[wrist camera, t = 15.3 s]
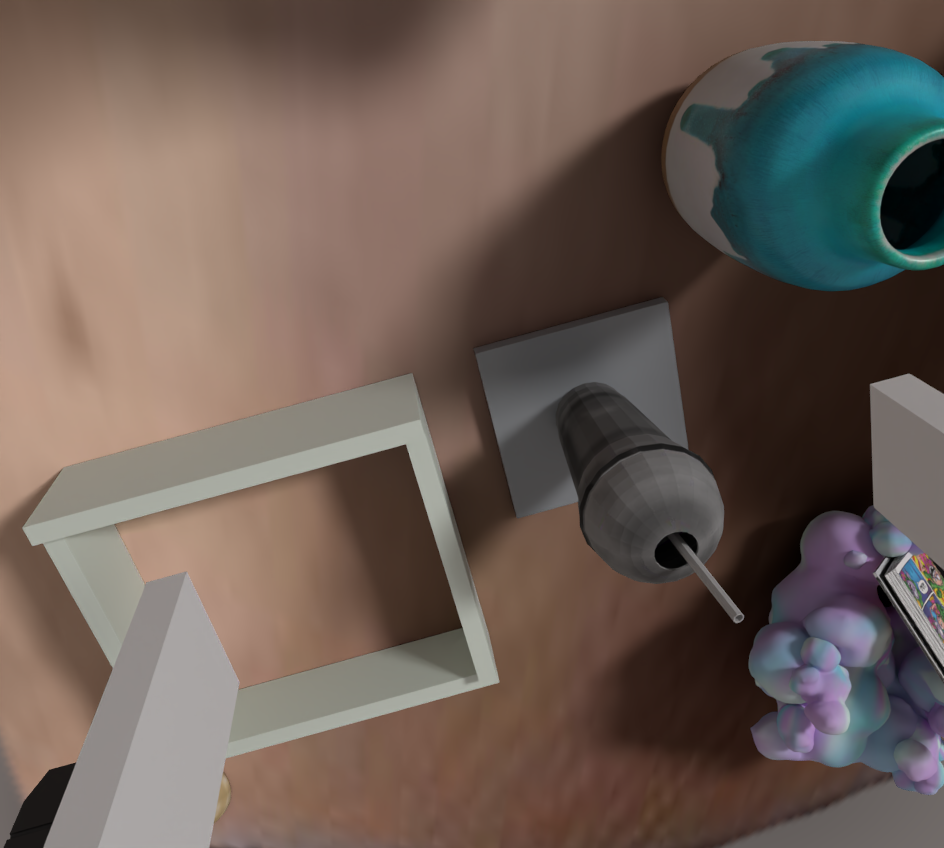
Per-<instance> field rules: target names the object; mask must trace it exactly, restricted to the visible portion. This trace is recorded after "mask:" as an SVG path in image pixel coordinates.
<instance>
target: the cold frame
mask: <svg viewBox="0 0 944 848" xmlns="http://www.w3.org/2000/svg"><path fill="white" fill-rule="evenodd" d="M405 444H406V446H407V449H408V453H409V456H410V459H411V462H412V466H413V469H414V472H415V475H416V479H417V482H418V485H419V488H420V491H421V495H422V498H423V501H424V504H425V508H426V511H427V514H428V517H429V521H430V524H431V527H432V530H433V534H434V537H435V540H436V543H437V546H438V550H439V553H440V556H441V559H442V563H443V566H444V569H445V572H446V576H447V579H448V582H449V585H450V588H451V592H452V595H453V598H454V601H455V605H456V608H457V611H458V614H459V618H460V621H461V624H462V627H463V628H460V629H457V630H453V631H449V632H446V633H442V634H439V635H435V636H431V637H428V638H424V639H420V640H417V641H413V642H410V643H406V644H402V645H399V646H395V647H391V648H388V649H384V650H381V651H377V652H373V653H370V654H366V655H362V656H359V657H355V658H352V659H348V660H344V661H341V662H337V663H333V664H330V665H326V666H323V667H319V668H315V669H312V670H308V671H305V672H301V673H297V674H294V675H290V676H286V677H283V678H279V679H276V680H272V681H268V682H265V683H261V684H257V685H254V686H250V687H247V688H243V689H239V690H238V693H237V698H236V704H235V709H234V715H233V720H232V726H231V731H230V737H229V742H228V748H227V753H226V758H229V757H232V756H236V755H240V754H243V753H247V752H250V751H254V750H258V749H261V748H265V747H268V746H272V745H276V744H279V743H283V742H286V741H290V740H294V739H297V738H301V737H305V736H308V735H312V734H315V733H319V732H323V731H326V730H330V729H333V728H337V727H341V726H344V725H348V724H351V723H355V722H359V721H362V720H366V719H369V718H373V717H377V716H380V715H384V714H387V713H391V712H395V711H398V710H402V709H406V708H409V707H413V706H416V705H420V704H424V703H427V702H431V701H434V700H438V699H442V698H445V697H449V696H452V695H456V694H460V693H463V692H467V691H470V690H474V689H478V688H481V687H485V686H489V685H492V684H496V683H499V678H498V673H497V669H496V664H495V660H494V655H493V651H492V646H491V642H490V637H489V633H488V630H487V626H486V623H485V620H484V616H483V613H482V609H481V606H480V602H479V599H478V596H477V592H476V589H475V585H474V582H473V579H472V575H471V572H470V568H469V565H468V561H467V558H466V555H465V551H464V548H463V544H462V541H461V538H460V534H459V531H458V527H457V524H456V520H455V517H454V514H453V510H452V507H451V503H450V500H449V497H448V493H447V490H446V486H445V483H444V479H443V476H442V473H441V469H440V466H439V462H438V459H437V456H436V452H435V449H434V445H433V442H432V439H431V435H430V432H429V428H428V425H427V421H426V418H425V415H424V411H423V408H422V404H421V401H420V398H419V394H418V391H417V387H416V384H415V380H414V377H413V374H412V373H410V374H406V375H403V376H399V377H395V378H392V379H388V380H384V381H381V382H377V383H373V384H370V385H366V386H362V387H359V388H355V389H351V390H347V391H344V392H340V393H336V394H333V395H329V396H325V397H322V398H318V399H314V400H311V401H307V402H303V403H300V404H296V405H292V406H289V407H285V408H281V409H278V410H274V411H270V412H267V413H263V414H259V415H256V416H252V417H248V418H244V419H241V420H237V421H233V422H230V423H226V424H222V425H219V426H215V427H211V428H208V429H204V430H200V431H197V432H193V433H189V434H186V435H182V436H178V437H175V438H171V439H167V440H164V441H160V442H156V443H153V444H149V445H145V446H141V447H138V448H134V449H130V450H127V451H123V452H119V453H116V454H112V455H108V456H105V457H101V458H97V459H94V460H90V461H86V462H83V463H79V464H75V465H72V466H68V467H64V468H63V469H62V471H61V472H60V474H59V475H58V477H57V478H56V480H55V481H54V482H53V484H52V485H51V487H50V488H49V490H48V491H47V493H46V494H45V495H44V497H43V498H42V500H41V501H40V503H39V504H38V506H37V507H36V509H35V510H34V511H33V513H32V514H31V516H30V517H29V519H28V520H27V522H26V523H25V525H24V526H23V527H22V529H23V530H24V532H25V534H26V536H27V537H28V539H29V541H30V543H31V545H32V546H35V545H39V544H42V543H43V545H44V546H45V548H46V550H47V552H48V554H49V555H50V557H51V559H52V561H53V563H54V564H55V566H56V568H57V570H58V571H59V573H60V575H61V577H62V579H63V580H64V582H65V584H66V586H67V587H68V589H69V591H70V593H71V595H72V596H73V598H74V600H75V602H76V604H77V605H78V607H79V609H80V611H81V612H82V614H83V616H84V618H85V620H86V621H87V623H88V625H89V627H90V629H91V630H92V632H93V634H94V636H95V637H96V639H97V641H98V643H99V645H100V646H101V648H102V650H103V652H104V654H105V655H106V657H107V659H108V661H109V662H110V664H111V666H112V668H113V667H114V665H115V662H116V659H117V657H118V654H119V652H120V649H121V647H122V644H123V641H124V639H125V636H126V634H127V631H128V629H129V626H130V623H131V621H132V618H133V616H134V613H135V611H136V608H137V605H138V603H139V600H140V598H141V595H142V593H143V590H144V587H145V584H144V582H143V580H142V578H141V576H140V574H139V572H138V570H137V568H136V566H135V564H134V562H133V560H132V558H131V556H130V554H129V552H128V550H127V548H126V546H125V544H124V543H123V541H122V539H121V537H120V535H119V533H118V531H117V529H116V527H115V525H114V524H116V523H119V522H123V521H127V520H130V519H134V518H138V517H141V516H145V515H149V514H152V513H156V512H160V511H163V510H167V509H171V508H174V507H178V506H182V505H185V504H189V503H193V502H196V501H200V500H203V499H207V498H211V497H214V496H218V495H222V494H225V493H229V492H233V491H236V490H240V489H244V488H247V487H251V486H255V485H258V484H262V483H266V482H269V481H273V480H277V479H280V478H284V477H288V476H291V475H295V474H299V473H302V472H306V471H310V470H313V469H317V468H321V467H324V466H328V465H332V464H335V463H339V462H343V461H346V460H350V459H354V458H357V457H361V456H365V455H368V454H372V453H376V452H379V451H383V450H387V449H390V448H394V447H398V446H401V445H405Z"/></svg>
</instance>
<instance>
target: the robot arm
mask: <svg viewBox="0 0 944 848" xmlns="http://www.w3.org/2000/svg"><path fill="white" fill-rule="evenodd" d="M870 404H871V438H872V471H873V505H874V508H875V509H876V510H877V511H879V512H880V513H881V514H882V515H883V516H884V517H885V518H886V519H887V520H889V521H890V522H891V523H892V524H893V525H894V526H895V527H896V528H897V529H899V530H900V531H901V532H902V533H903V534H904V535H905V536H906V537H907V538H909V539H910V540H911V541H912V542H913V543H914V544H915V545H916V546H917V547H919V548H920V549H921V550H922V551H923V552H924V553H925V554H926V555H927V556H929V557H930V558H931V559H932V560H933V561H934V562H935V563H936V564H938V565H939V566H940V567H941V568H942V569H943V570H944V394H943V393H941V392H939V391H938V390H936V389H934V388H933V387H931V386H929V385H928V384H926V383H924V382H923V381H921V380H919V379H918V378H916V377H914V376H913V375H911V374H905V375H902V376H898V377H895V378H891V379H887V380H884V381H880V382H876V383H873V384H870ZM238 687H239V680H238V678H237V676H236V674H235V672H234V670H233V667H232V665H231V663H230V661H229V659H228V657H227V655H226V653H225V651H224V649H223V646H222V644H221V642H220V640H219V638H218V636H217V634H216V632H215V630H214V628H213V625H212V623H211V621H210V619H209V617H208V615H207V613H206V611H205V609H204V607H203V605H202V602H201V600H200V598H199V596H198V594H197V592H196V590H195V588H194V586H193V584H192V581H191V579H190V577H189V575H188V573H187V572H183V573H179V574H176V575H172V576H168V577H165V578H161V579H157V580H154V581H150V582H146V585H145V587H144V590H143V593H142V595H141V598H140V600H139V603H138V605H137V608H136V611H135V613H134V616H133V618H132V621H131V623H130V626H129V629H128V631H127V634H126V636H125V639H124V641H123V644H122V647H121V649H120V652H119V654H118V657H117V659H116V662H115V665H114V667H113V670H112V672H111V675H110V677H109V680H108V683H107V685H106V688H105V690H104V693H103V695H102V698H101V701H100V703H99V706H98V708H97V711H96V713H95V716H94V719H93V721H92V724H91V726H90V729H89V731H88V734H87V737H86V739H85V742H84V744H83V747H82V749H81V752H80V755H79V757H78V760H77V762H76V763H73V764H69V765H65V766H62V767H58V768H54V769H51V770H49V771H48V772H47V773H46V775H45V776H44V777H43V778H42V780H41V781H40V782H39V783H38V785H37V786H36V787H35V788H34V790H33V791H32V792H31V793H30V795H29V796H28V797H27V798H26V800H25V801H24V802H23V805H22V807H21V809H20V812H19V814H18V816H17V818H16V821H15V823H14V825H13V828H12V830H11V832H10V835H11V838H10V839H9V840H7V841H6V844H5V846H4V848H209V846H210V840H211V835H212V830H213V824H214V819H215V813H216V808H217V802H218V797H219V791H220V786H221V780H222V775H223V769H224V764H225V758H226V753H227V748H228V742H229V737H230V731H231V726H232V720H233V715H234V709H235V704H236V698H237V693H238Z"/></svg>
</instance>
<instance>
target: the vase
mask: <svg viewBox="0 0 944 848" xmlns="http://www.w3.org/2000/svg"><path fill="white" fill-rule="evenodd" d="M661 164H662V175H663V179H664V183H665V187H666V190H667V192H668V194H669V197H670V199H671V201H672V204H673V205H674V207H675V208H676V210H677V211H678V213H679V215H680V216H681V217H682V218H683V219H684V220H685V221H686V222H687V224H688V225H689V226H690V227H691V228H692V229H693V230H694V231H695V232H696V233H697V234H699V235H700V236H701V237H702V238H704V239H705V240H706V241H708V242H709V243H710V244H712V245H713V246H714V247H716V248H717V249H718V250H720V251H721V252H723V253H724V254H726V255H728V256H729V257H731V258H733V259H735V260H736V261H738V262H740V263H742V264H744V265H746V266H748V267H750V268H752V269H754V270H756V271H758V272H760V273H762V274H764V275H766V276H769V277H771V278H773V279H776V280H779V281H782V282H785V283H789V284H792V285H796V286H799V287H803V288H807V289H812V290H821V291H846V290H854V289H858V288H863V287H867V286H870V285H873V284H876V283H878V282H881V281H884V280H886V279H889V278H891V277H893V276H895V275H896V274H898V273H900V272H902V271H904V270H905V269H906V270H927V269H931V268H936V267H938V266H941V265H944V77H942V76H941V75H940V74H939V73H938V72H937V71H936V70H935V69H933V68H932V67H930V66H928V65H927V64H925V63H924V62H922V61H920V60H919V59H916V58H914V57H911V56H908V55H906V54H903V53H900V52H898V51H895V50H891V49H887V48H884V47H878V46H872V45H865V44H859V43H851V42H837V41H801V42H784V43H777V44H771V45H766V46H761V47H757V48H752V49H748V50H745V51H742V52H739V53H736V54H734V55H731V56H729V57H727V58H725V59H723V60H721V61H720V62H718V63H716V64H714V65H713V66H711V67H710V68H709V69H707V70H706V71H705V72H704V73H702V74H701V75H700V76H699V77H697V78H696V80H695V81H694V82H693V83H692V84H691V85H690V86H689V87H688V88H687V89H686V91H685V92H684V93H683V95H682V96H681V98H680V99H679V100H678V102H677V104H676V106H675V108H674V110H673V112H672V113H671V115H670V118H669V121H668V124H667V126H666V129H665V133H664V138H663V143H662V154H661Z"/></svg>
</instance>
